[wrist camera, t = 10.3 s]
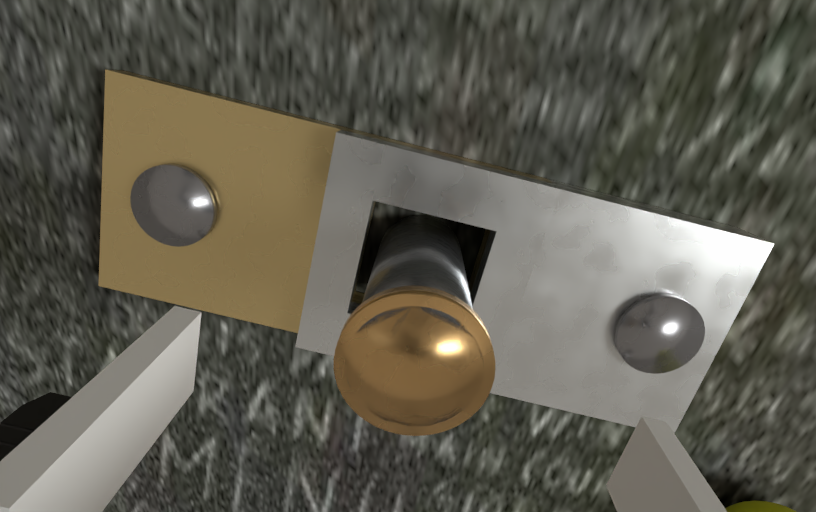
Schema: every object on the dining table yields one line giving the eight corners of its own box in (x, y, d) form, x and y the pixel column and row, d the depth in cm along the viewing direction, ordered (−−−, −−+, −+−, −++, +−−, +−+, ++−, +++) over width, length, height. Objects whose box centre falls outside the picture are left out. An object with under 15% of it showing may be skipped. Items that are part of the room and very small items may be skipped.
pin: (383, 197, 27) (351, 277, 16) (480, 221, 27) (517, 317, 16) (362, 287, 29) (320, 416, 17) (453, 308, 29) (469, 450, 18)
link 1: (123, 70, 25) (97, 68, 23) (547, 178, 26) (556, 186, 24) (114, 276, 29) (91, 289, 27) (483, 364, 30) (487, 383, 28)
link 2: (346, 127, 26) (333, 133, 22) (737, 227, 27) (782, 247, 23) (308, 322, 30) (292, 352, 26) (650, 403, 31) (678, 443, 27)
